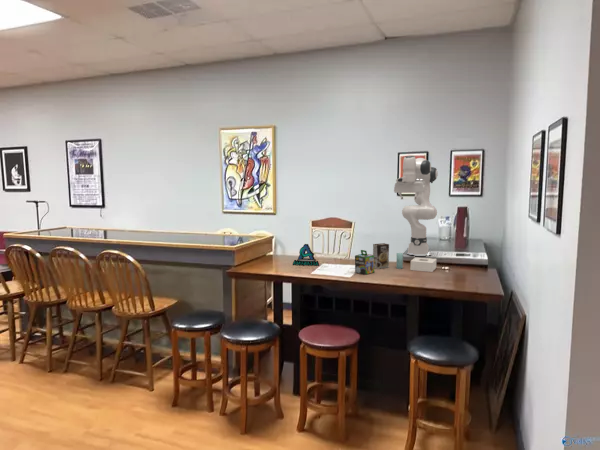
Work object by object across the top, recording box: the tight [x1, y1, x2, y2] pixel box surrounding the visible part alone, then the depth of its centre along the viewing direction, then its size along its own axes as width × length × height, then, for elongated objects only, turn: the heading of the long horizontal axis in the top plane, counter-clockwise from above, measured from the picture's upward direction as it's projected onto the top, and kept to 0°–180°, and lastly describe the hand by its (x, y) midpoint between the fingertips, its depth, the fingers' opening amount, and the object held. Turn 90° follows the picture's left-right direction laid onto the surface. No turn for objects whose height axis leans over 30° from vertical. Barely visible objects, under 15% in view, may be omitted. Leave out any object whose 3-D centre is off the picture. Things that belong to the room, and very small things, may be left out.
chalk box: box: [354, 249, 375, 276], centre depth 266 cm, size 9×9×15 cm
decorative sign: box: [292, 243, 320, 267], centre depth 291 cm, size 19×2×15 cm, turn 76°
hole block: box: [409, 256, 437, 273], centre depth 275 cm, size 14×14×6 cm
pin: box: [395, 252, 404, 270], centre depth 278 cm, size 4×4×10 cm
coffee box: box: [372, 242, 390, 270], centre depth 280 cm, size 9×6×16 cm
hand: (408, 199), depth 287 cm, fingers open, 8 cm apart
